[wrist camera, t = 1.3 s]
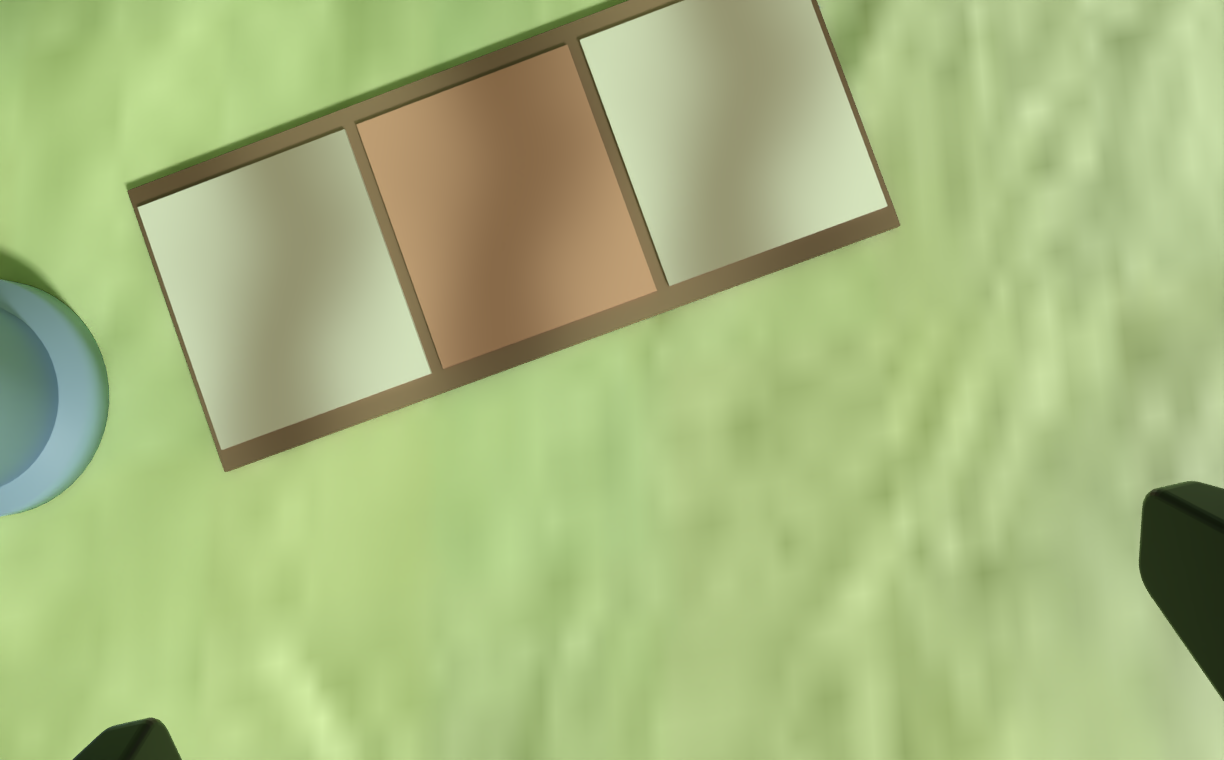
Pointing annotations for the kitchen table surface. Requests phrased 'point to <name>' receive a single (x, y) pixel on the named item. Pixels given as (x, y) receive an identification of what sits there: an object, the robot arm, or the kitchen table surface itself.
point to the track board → (506, 212)
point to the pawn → (46, 397)
